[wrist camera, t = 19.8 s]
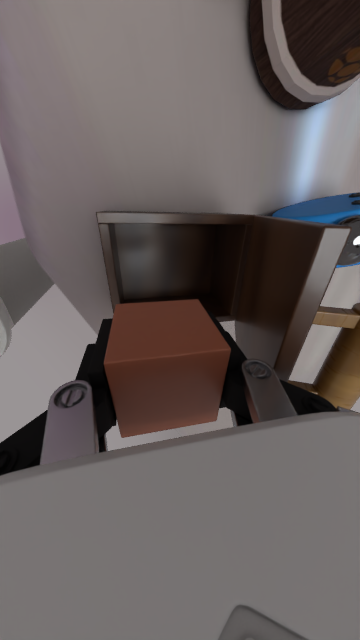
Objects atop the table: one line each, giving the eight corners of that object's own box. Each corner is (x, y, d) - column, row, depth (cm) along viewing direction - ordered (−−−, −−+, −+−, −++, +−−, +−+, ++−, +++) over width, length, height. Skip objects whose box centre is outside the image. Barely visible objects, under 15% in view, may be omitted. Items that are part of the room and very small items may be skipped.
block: (125, 367, 12) (121, 438, 8) (115, 303, 10) (102, 363, 6) (193, 359, 13) (216, 421, 9) (198, 298, 11) (232, 348, 7)
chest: (119, 302, 31) (116, 333, 23) (105, 211, 24) (95, 211, 17) (211, 295, 34) (235, 320, 27) (221, 213, 28) (255, 215, 20)
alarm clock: (252, 255, 32) (334, 285, 19) (251, 214, 29) (350, 218, 16) (322, 233, 33) (442, 249, 20) (329, 191, 30) (477, 179, 17)
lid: (243, 452, 12) (340, 474, 11) (323, 225, 6) (565, 233, 5) (234, 321, 26) (276, 326, 25) (254, 214, 20) (311, 216, 19)
